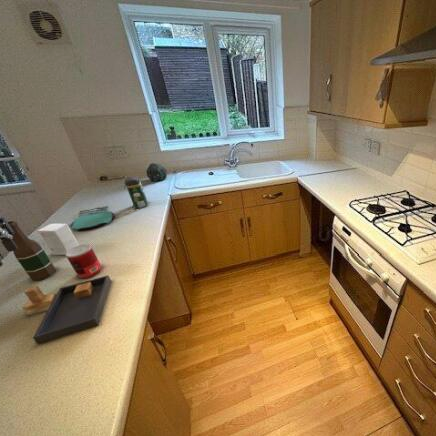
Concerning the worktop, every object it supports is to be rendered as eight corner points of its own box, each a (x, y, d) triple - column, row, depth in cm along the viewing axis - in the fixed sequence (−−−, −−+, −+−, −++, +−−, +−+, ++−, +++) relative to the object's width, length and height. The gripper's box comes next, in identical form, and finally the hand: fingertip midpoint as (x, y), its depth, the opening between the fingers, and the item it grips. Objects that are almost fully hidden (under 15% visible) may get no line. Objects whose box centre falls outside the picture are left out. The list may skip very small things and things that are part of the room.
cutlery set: (69, 235, 122) (67, 231, 121) (76, 213, 145) (75, 210, 144) (115, 224, 132) (113, 220, 130) (115, 205, 154) (114, 202, 153)
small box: (81, 247, 112) (67, 223, 106) (68, 255, 107) (54, 231, 101) (65, 246, 113) (51, 223, 107) (52, 255, 108) (36, 230, 101)
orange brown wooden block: (77, 299, 83) (73, 292, 82) (80, 291, 87) (76, 285, 85) (91, 295, 85) (87, 289, 83) (93, 287, 88) (90, 281, 86)
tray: (38, 344, 69) (32, 338, 68) (64, 294, 86) (60, 287, 85) (98, 325, 74) (94, 318, 73) (111, 281, 92) (108, 275, 90)
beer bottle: (35, 271, 98) (-1, 220, 86) (59, 265, 101) (27, 215, 89) (27, 283, 92) (-13, 230, 80) (53, 276, 95) (18, 224, 83)
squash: (167, 168, 205) (150, 158, 194) (172, 173, 195) (155, 162, 184) (157, 182, 204) (139, 172, 192) (162, 187, 194) (144, 177, 183)
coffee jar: (134, 204, 155) (124, 176, 146) (148, 201, 158) (138, 174, 149) (133, 209, 147) (122, 181, 138) (148, 206, 150) (138, 178, 142)
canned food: (104, 263, 101) (93, 242, 96) (98, 275, 94) (86, 253, 89) (83, 268, 99) (70, 246, 93) (75, 281, 92) (61, 258, 87)
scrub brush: (28, 315, 78) (13, 296, 74) (34, 306, 82) (19, 288, 77) (55, 307, 81) (42, 289, 77) (59, 299, 84) (47, 281, 80)
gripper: (-32, 201, 68) (2, 248, 75) (-73, 224, 56) (-28, 276, 64) (3, 197, 70) (33, 242, 78) (-29, 217, 59) (10, 268, 66)
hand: (6, 258), depth 71 cm, fingers open, 8 cm apart
